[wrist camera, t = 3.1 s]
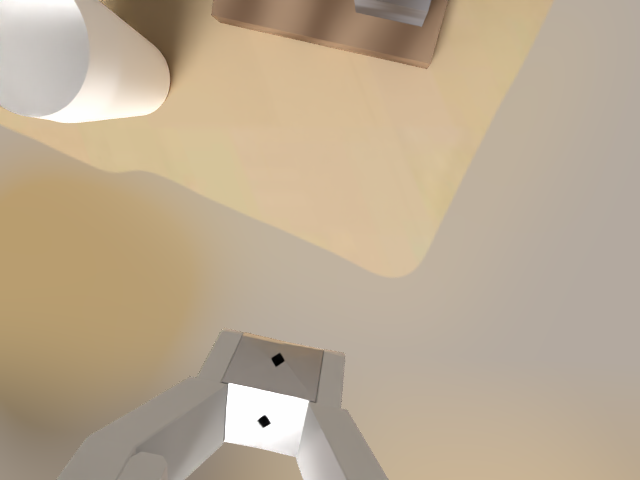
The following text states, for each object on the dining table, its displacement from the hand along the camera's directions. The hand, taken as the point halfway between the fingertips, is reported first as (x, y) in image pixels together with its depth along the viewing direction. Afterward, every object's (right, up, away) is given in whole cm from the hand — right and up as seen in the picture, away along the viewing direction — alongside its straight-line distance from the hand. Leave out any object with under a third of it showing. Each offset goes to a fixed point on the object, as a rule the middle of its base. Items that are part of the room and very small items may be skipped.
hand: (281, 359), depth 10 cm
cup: (-16, +18, +26) cm, 35 cm away
